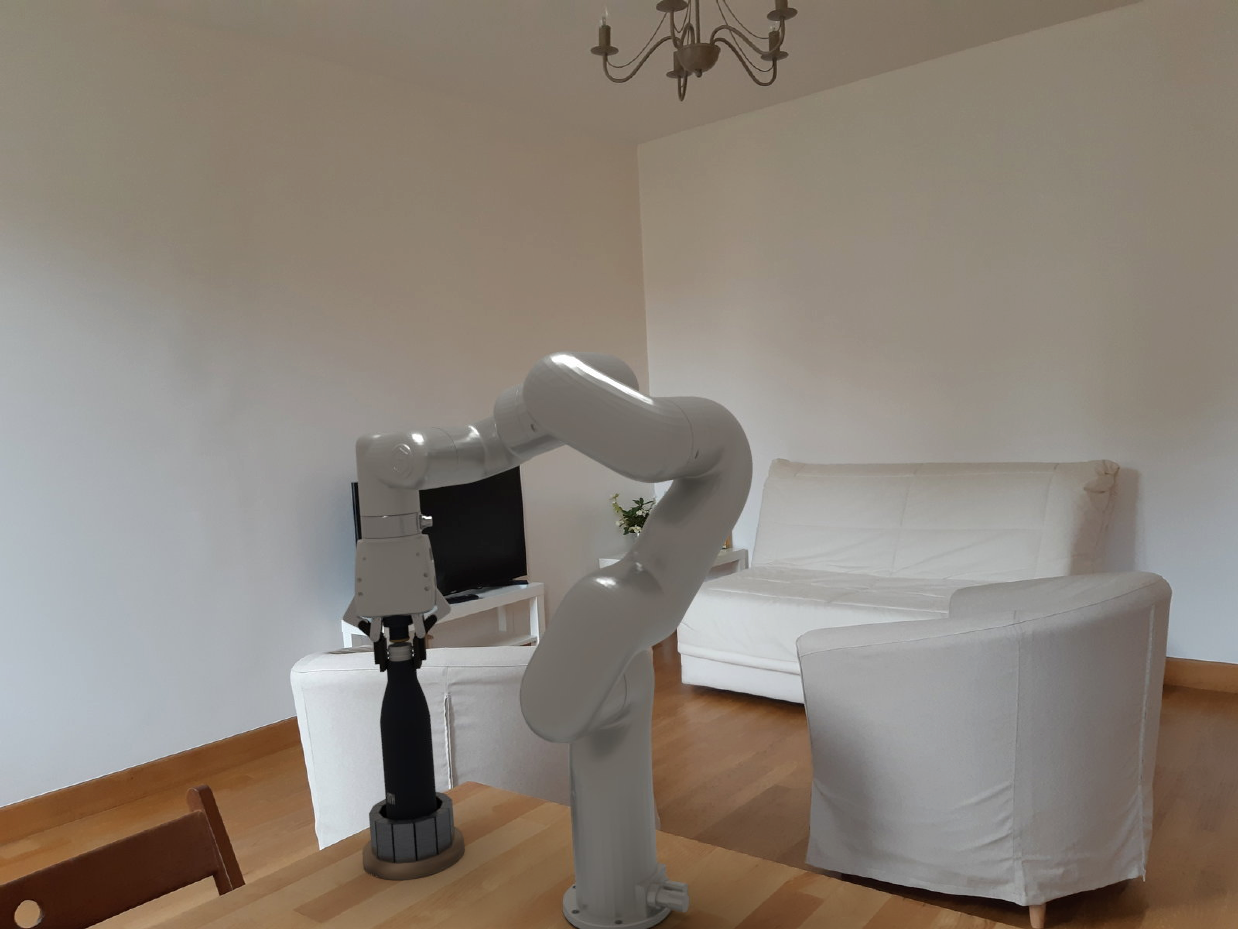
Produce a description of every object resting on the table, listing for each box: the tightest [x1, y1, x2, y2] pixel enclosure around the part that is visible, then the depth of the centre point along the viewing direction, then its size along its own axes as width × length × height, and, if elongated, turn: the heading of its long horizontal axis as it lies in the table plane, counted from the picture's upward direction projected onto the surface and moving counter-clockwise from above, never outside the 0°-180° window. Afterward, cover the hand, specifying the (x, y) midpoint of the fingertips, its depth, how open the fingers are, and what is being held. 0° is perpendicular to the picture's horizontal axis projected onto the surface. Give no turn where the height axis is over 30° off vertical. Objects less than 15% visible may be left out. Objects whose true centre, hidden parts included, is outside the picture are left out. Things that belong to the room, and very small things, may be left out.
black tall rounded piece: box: [379, 615, 437, 821], centre depth 122 cm, size 6×6×30 cm
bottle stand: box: [361, 791, 465, 881], centre depth 122 cm, size 13×13×6 cm
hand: (401, 666), depth 121 cm, fingers closed on black tall rounded piece, 3 cm apart
